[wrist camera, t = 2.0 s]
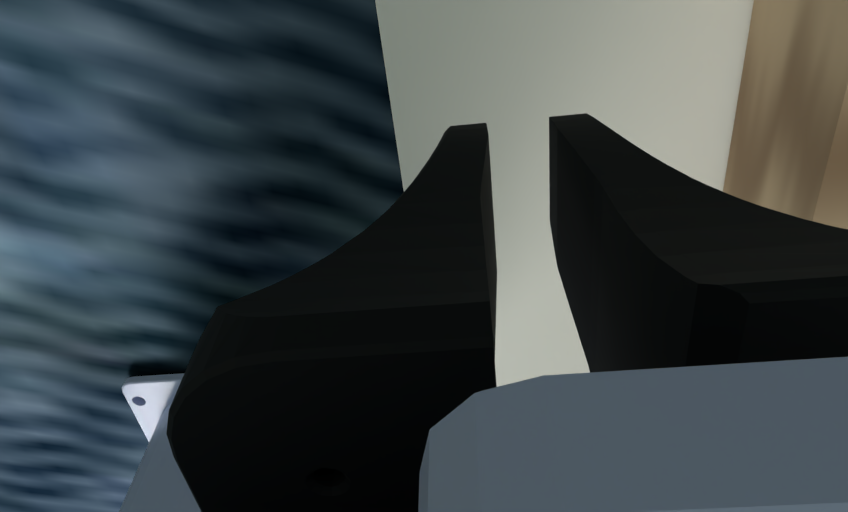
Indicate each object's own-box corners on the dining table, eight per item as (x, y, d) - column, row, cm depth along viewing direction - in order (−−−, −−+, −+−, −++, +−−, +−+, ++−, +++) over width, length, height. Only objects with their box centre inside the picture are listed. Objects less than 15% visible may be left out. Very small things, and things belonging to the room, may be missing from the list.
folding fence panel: (748, 236, 21) (820, 347, 17) (715, 238, 21) (779, 350, 17) (820, -131, 15) (954, -93, 11) (774, -125, 16) (890, -85, 11)
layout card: (1009, 485, 29) (1017, 495, 29) (452, 510, 31) (452, 520, 31) (1482, -275, 14) (1513, -277, 14) (357, -133, 16) (355, -130, 16)
